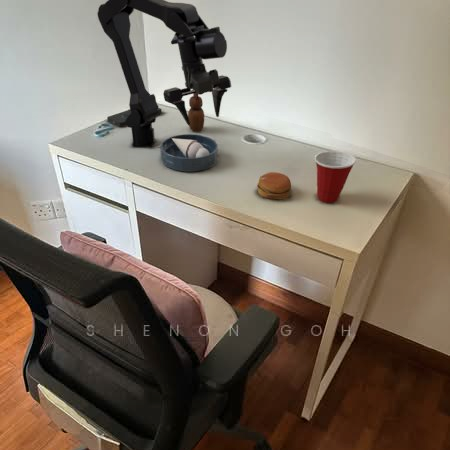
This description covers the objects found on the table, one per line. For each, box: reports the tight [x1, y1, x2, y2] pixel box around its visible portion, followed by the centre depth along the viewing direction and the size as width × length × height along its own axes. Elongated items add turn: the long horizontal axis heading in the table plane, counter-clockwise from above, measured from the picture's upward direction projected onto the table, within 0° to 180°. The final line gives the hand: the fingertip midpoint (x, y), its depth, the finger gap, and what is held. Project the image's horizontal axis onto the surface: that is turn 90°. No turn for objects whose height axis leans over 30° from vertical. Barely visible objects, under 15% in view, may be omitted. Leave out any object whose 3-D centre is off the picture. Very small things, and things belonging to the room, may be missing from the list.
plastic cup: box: [314, 150, 357, 204], centre depth 114 cm, size 11×11×12 cm
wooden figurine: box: [187, 93, 205, 133], centre depth 145 cm, size 7×6×15 cm
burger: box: [256, 171, 292, 200], centre depth 118 cm, size 10×9×5 cm
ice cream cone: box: [172, 138, 209, 158], centre depth 131 cm, size 6×6×15 cm
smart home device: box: [106, 107, 162, 128], centre depth 157 cm, size 8×2×20 cm
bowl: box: [159, 133, 219, 172], centre depth 132 cm, size 18×18×4 cm
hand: (203, 120), depth 123 cm, fingers open, 9 cm apart
